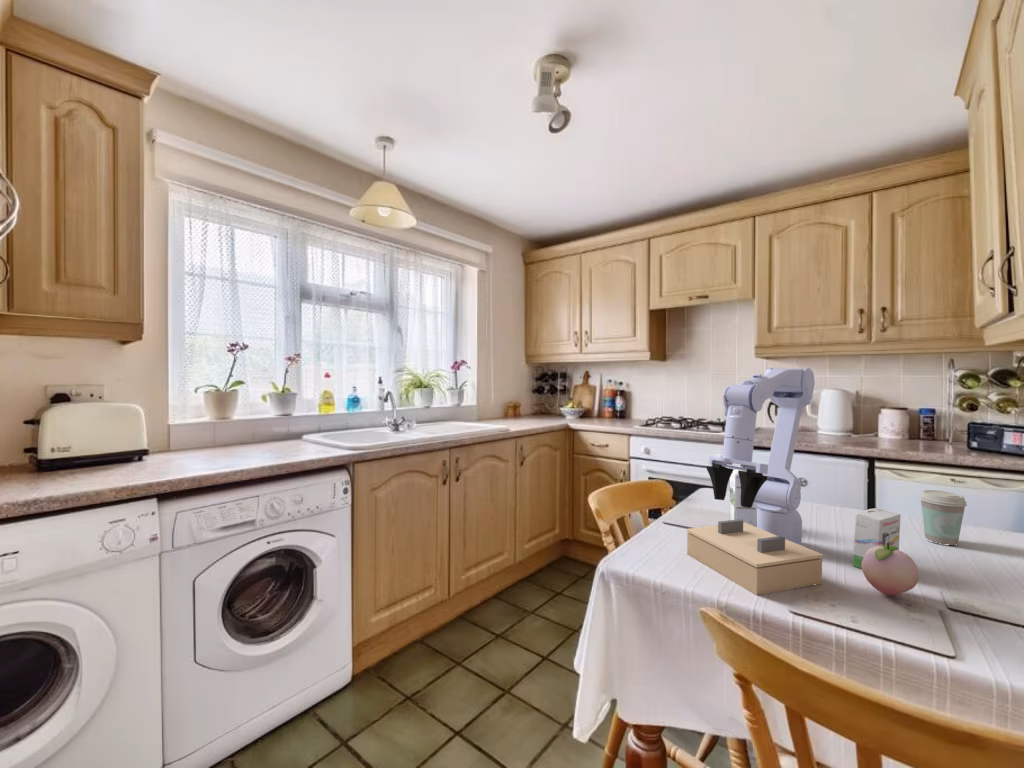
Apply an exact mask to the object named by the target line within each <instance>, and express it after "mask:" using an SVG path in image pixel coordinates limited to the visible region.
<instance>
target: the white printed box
mask: <svg viewBox="0 0 1024 768" xmlns="http://www.w3.org/2000/svg"><path fill="white" fill-rule="evenodd" d="M738 471H745V472H747V471H746V470H740V469H733V472H732V474H731V476H730V478H729V519H730V518H731V519H732V520H737V519H741V520H743V523H744V522H745V523H747V524H750V525H752V526H755V527H757V507H755V503H754V502H753V505H752V507H751V508H748V507H742V506H741V483H740V477H739V474H738Z"/></svg>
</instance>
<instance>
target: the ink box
mask: <svg viewBox="0 0 1024 768" xmlns="http://www.w3.org/2000/svg"><path fill="white" fill-rule="evenodd" d="M854 519H855V521H854V522H855V523H854V540H853V558H852V566H853V567H857V568H859V569H862V567H861V563H862V560H863V557H864V555H865V553H866V552H867V551H868V550H869V549H870V548H872V547H876V546H882V545H887V542H888V543H889V545H891V546H895V547H897V548H898V550H899V551H900V534H901V533H900V532H901V513H895V512H892V511H889V510H886V509H885V510H884V509H880V508H878V507H877V508H876V507H873V508H869V509H865V510H861V511H857V512H856V513H855V518H854Z"/></svg>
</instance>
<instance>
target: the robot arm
mask: <svg viewBox="0 0 1024 768" xmlns="http://www.w3.org/2000/svg"><path fill="white" fill-rule="evenodd" d="M815 384H816V383H815V375H814V371H813V370H812V369H811V368H810V367H804V368H801V367H799V368H794V367H793V368H790V367H789V368H780V367H778V368H773V367H769V368H767V369H766V370H765V373H764V375H762V374H761V373H757V374H756V373H754V374H752V376H751V378H749V379H745V380H744V381H743V382H742V383H740V384H731V385H729V386H728V387H726V388H725V391H724V392H723V393H724V394H723V397H722V398H723V405H724V413H723V414H724V417H726V418H725V419H726V420H725V429H724V438H723V446H722V447H723V448H722V457H720V456H713V455H709V457H708V465H707V466H706V471H707V472H708V475H709V478H710V481H711V485H712V491H713V496H714V500H719V501H725V498H726V496H727V490H728V484H729V482H730V476H731V474H732V472H733V470H738V469H740V470H746V471H747V472H745V471H738V474H739V477H740V483H741V506H742V507H748V508H751V507H752V505H753V502H754V503H755V507H757V528H760V529H762V530H764V531H767V532H769V533H772V534H774V535H777V536H782V537H785V539H786V540H789V541H791V542H793V543H796V544H798V545H801V546H803V547H806V546H805V545H804V544H803V542H802V541H803V520H802V519H803V518H802V516H801V514H800V513H799V511H798V510H797V509H798V508H799V507H800V504H801V499H802V498H801V497H802V495H801V494H802V493H801V490H802V483H801V481H800V479H799V478H798V476H796V475H795V474H794V473H792V471H791V468H792V463H793V457H794V453H795V447H796V442H797V436H798V432H799V427H800V422H801V416H802V413H803V410H804V407H807V406H808V405H811V403H812V402H811V401H812V400H813V395H814V390H815ZM768 399H769V400H770V402H771V403H773V404H774V405H776V406H778V407H779V409H778V414H777V418H776V423H775V427H774V432H773V438H772V441H771V448H770V450H769V456H768V460H767V464H766V463H760V462H754V461H753V453H754V444H755V443H754V442H755V433H756V426H757V424H756V423H757V414H758V412H761V410H762V409H763V405H764V404H765V402H766V401H767V400H768ZM733 464H735V465H736V464H737V465H740V466H735V465H733Z"/></svg>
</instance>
